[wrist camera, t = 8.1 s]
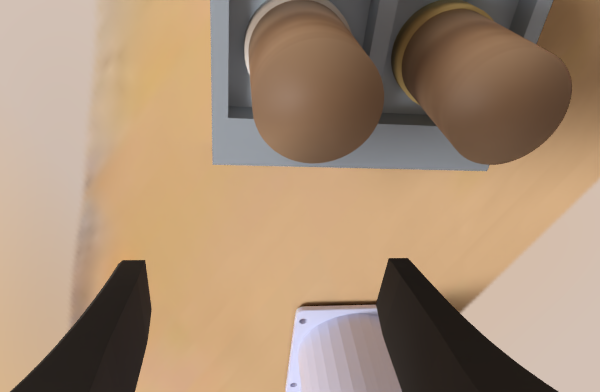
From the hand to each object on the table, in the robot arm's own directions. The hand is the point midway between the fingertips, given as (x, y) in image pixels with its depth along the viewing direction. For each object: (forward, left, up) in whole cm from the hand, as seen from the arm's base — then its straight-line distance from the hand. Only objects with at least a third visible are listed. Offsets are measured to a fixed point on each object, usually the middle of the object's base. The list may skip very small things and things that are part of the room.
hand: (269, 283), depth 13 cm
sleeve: (+5, -8, -9) cm, 13 cm away
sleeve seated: (+5, -1, -9) cm, 10 cm away
